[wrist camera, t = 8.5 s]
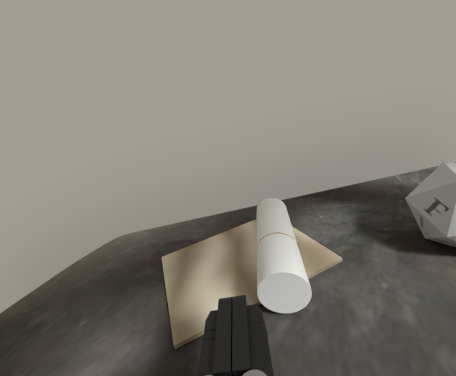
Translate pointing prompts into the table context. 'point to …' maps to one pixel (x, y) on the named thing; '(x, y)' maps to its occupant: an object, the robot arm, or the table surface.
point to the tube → (279, 260)
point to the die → (436, 205)
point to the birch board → (223, 275)
